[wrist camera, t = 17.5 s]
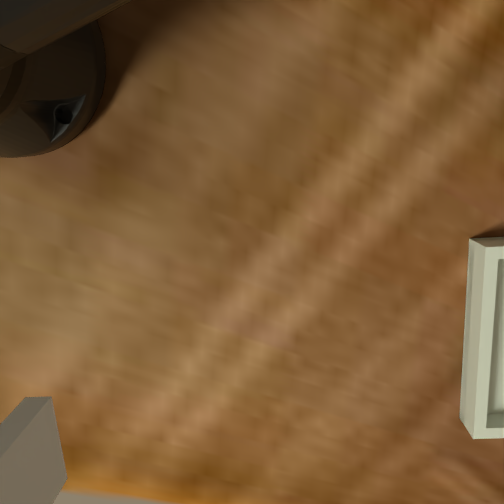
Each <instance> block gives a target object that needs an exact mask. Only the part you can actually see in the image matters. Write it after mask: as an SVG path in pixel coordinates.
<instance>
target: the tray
mask: <svg viewBox="0 0 504 504" xmlns="http://www.w3.org/2000/svg"><path fill="white" fill-rule="evenodd" d="M459 418H460V419H461V421H462V422H463V424H464V425H465V427H466V429H467V430H468V432H469V433H470V435H471V436H472V438H473V439H486V438H504V237H489V238H470V239H469V255H468V273H467V291H466V309H465V327H464V345H463V363H462V381H461V399H460V417H459Z"/></svg>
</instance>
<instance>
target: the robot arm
mask: <svg viewBox="0 0 504 504" xmlns="http://www.w3.org/2000/svg"><path fill="white" fill-rule="evenodd" d="M130 1H132V0H0V157H7V158H14V157H27V156H35V155H41V154H44V153H48V152H51V151H53V150H56V149H58V148H60V147H62V146H63V145H65V144H67V143H68V142H70V141H71V140H72V139H73V138H75V137H76V136H77V135H78V134H79V133H80V132H81V131H82V130H83V129H84V128H85V126H86V125H87V124H88V122H89V121H90V119H91V118H92V116H93V114H94V112H95V111H96V108H97V106H98V104H99V101H100V98H101V95H102V91H103V87H104V81H105V69H106V62H105V50H104V44H103V39H102V35H101V32H100V29H99V26H98V23H97V20H96V19H98V18H100V17H102V16H104V15H106V14H107V13H109V12H111V11H113V10H115V9H117V8H119V7H120V6H122V5H124V4H126V3H128V2H130ZM66 480H67V474H66V468H65V463H64V458H63V453H62V448H61V443H60V438H59V432H58V427H57V422H56V417H55V412H54V407H53V402H52V397H25V398H24V399H23V401H22V402H21V403H20V404H19V405H18V406H17V407H16V408H15V409H14V410H13V411H12V412H11V413H10V415H9V416H8V417H7V418H6V419H5V420H4V421H3V422H2V423H1V424H0V504H53V502H54V500H55V499H56V497H57V495H58V494H59V492H60V490H61V489H62V487H63V485H64V483H65V482H66Z"/></svg>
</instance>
